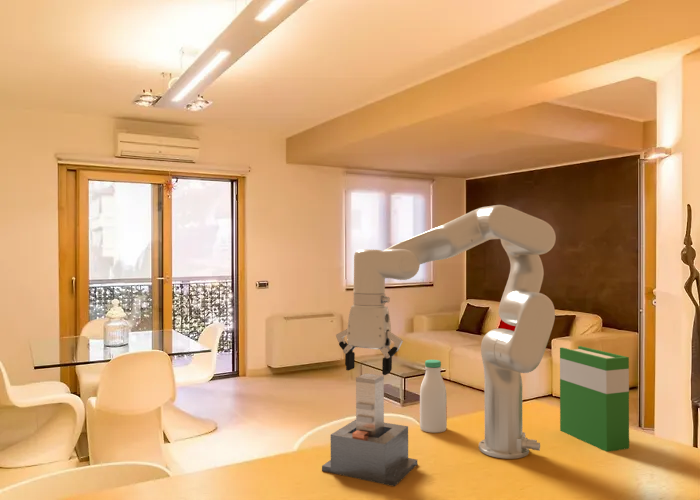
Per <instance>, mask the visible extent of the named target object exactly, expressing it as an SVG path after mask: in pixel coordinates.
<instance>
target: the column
mask: <svg viewBox="0 0 700 500" xmlns="http://www.w3.org/2000/svg"><path fill="white" fill-rule="evenodd" d="M384 380H385V375H383V374H373V373H363V374H361V375H358V376H357V377H355V410H356V411H355V420H356V431H357V430H359V431H365V432H369V437H375V438H379V437H380V436H382V435H383V434H384V423H385V403H384V402H385V401H384V400H385V399H384V398H385V392H384V391H385V390H384V389H385V384H384V382H385V381H384Z"/></svg>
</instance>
